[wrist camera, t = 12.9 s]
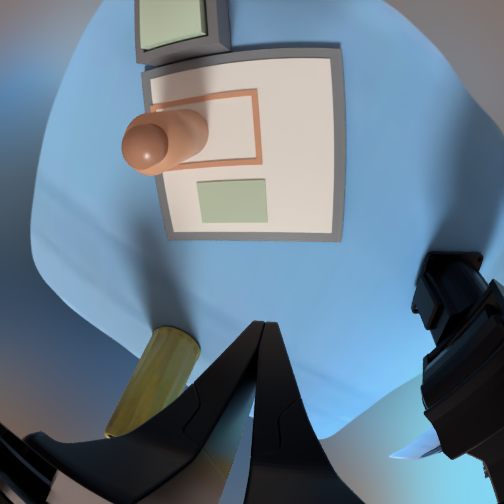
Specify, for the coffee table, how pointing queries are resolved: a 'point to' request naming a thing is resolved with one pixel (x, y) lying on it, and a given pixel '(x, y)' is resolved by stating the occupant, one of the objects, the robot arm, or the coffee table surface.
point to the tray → (256, 146)
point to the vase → (155, 379)
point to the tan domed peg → (163, 140)
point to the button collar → (190, 48)
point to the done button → (171, 22)
